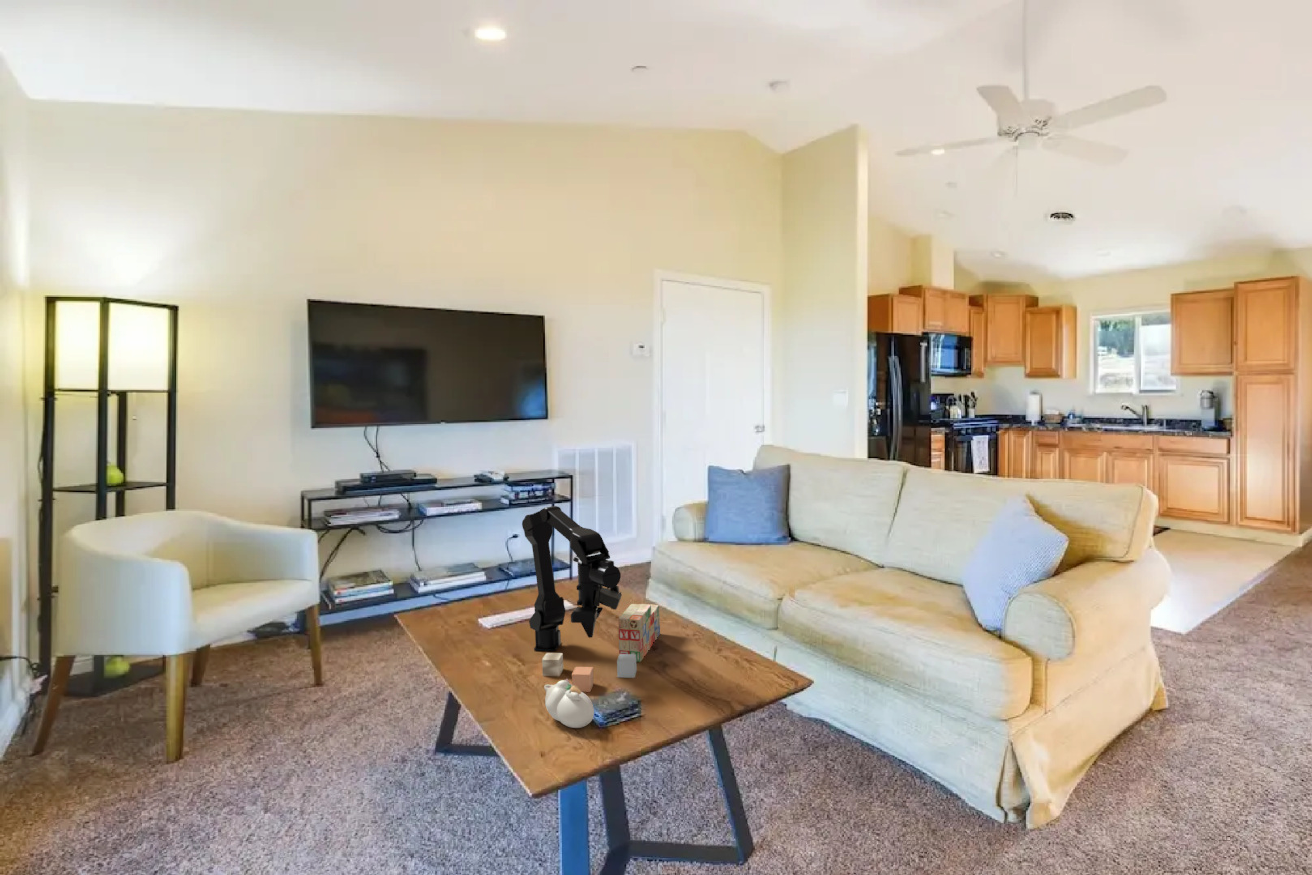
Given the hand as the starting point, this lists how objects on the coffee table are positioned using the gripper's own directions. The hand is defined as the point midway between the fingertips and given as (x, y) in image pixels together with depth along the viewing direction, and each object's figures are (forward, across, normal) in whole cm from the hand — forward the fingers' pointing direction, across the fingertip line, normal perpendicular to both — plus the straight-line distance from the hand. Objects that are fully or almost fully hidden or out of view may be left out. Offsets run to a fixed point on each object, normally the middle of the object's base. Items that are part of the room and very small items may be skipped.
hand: (590, 637), depth 178 cm
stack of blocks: (+9, +17, -11) cm, 22 cm away
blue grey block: (+9, -2, -10) cm, 14 cm away
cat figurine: (+9, -27, 0) cm, 28 cm away
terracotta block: (+9, -10, 0) cm, 14 cm away
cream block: (+9, -2, +10) cm, 14 cm away
